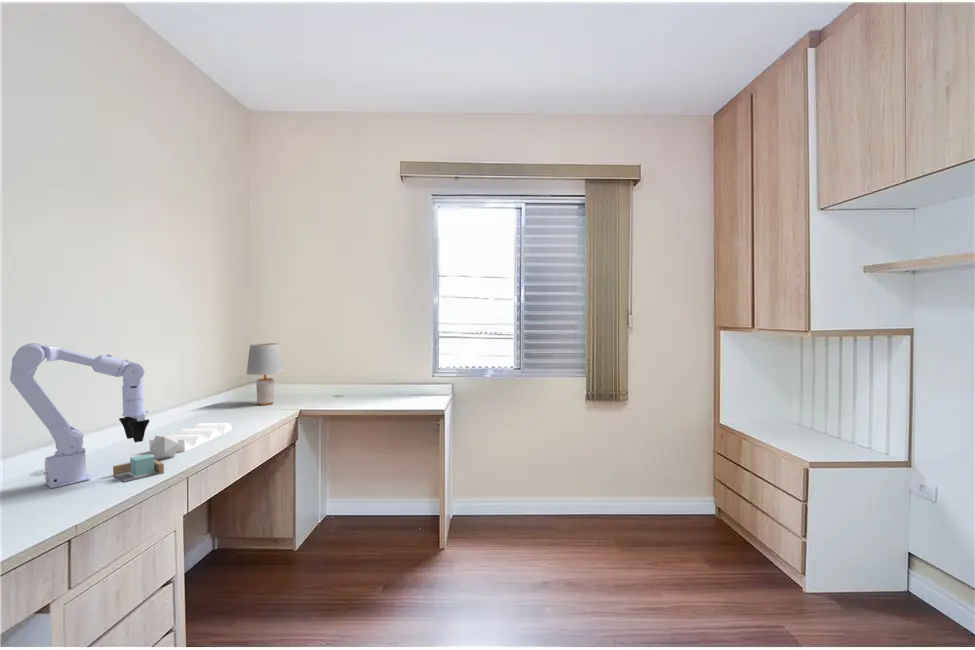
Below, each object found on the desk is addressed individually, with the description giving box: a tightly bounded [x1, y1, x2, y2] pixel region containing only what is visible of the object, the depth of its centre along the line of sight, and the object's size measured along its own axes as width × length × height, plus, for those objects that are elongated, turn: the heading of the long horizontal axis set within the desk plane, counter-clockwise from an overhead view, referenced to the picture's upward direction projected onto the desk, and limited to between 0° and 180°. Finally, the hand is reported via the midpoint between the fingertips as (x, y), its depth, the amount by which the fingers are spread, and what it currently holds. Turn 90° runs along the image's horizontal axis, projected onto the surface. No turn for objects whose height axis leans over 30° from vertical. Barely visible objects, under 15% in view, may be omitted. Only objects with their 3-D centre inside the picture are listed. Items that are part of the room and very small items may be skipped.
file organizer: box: [149, 422, 234, 453], centre depth 199 cm, size 13×35×5 cm, turn 0°
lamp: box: [246, 342, 284, 406], centre depth 276 cm, size 19×19×34 cm
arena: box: [112, 459, 165, 483], centre depth 156 cm, size 10×11×3 cm
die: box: [149, 433, 179, 461], centre depth 175 cm, size 8×9×10 cm
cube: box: [129, 453, 155, 476], centre depth 156 cm, size 5×5×5 cm
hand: (134, 439), depth 161 cm, fingers open, 7 cm apart
